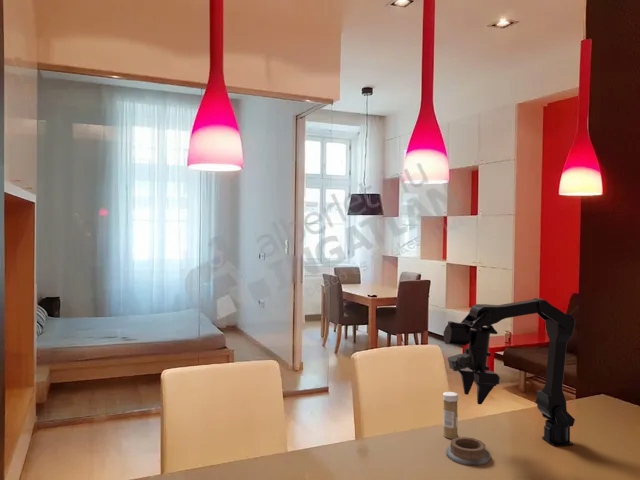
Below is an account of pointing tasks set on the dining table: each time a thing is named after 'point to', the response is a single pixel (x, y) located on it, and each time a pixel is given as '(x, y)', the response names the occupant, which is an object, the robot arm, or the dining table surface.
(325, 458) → the dining table surface
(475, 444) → the collar socket
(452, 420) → the sprinkles bottle
